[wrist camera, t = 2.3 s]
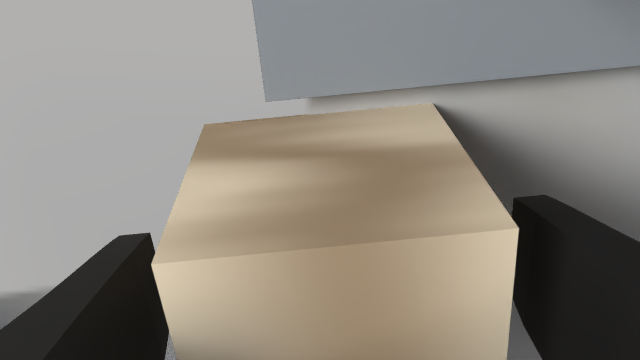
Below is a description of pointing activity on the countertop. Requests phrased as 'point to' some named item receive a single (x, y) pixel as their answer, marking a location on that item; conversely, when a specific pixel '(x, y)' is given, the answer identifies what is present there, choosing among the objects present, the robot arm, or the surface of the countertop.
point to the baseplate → (435, 42)
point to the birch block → (337, 243)
